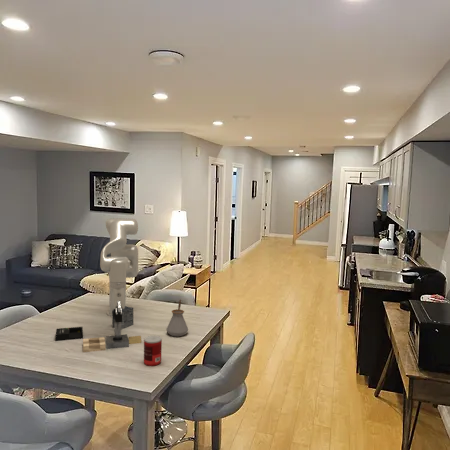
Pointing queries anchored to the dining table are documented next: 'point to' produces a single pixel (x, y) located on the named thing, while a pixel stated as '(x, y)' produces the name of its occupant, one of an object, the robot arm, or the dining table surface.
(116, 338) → the clear plastic bottle
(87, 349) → the frame
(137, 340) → the yellow rectangular block
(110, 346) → the socket
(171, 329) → the coffee pot
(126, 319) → the small box
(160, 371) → the dining table surface
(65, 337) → the battery charger
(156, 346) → the canned food
